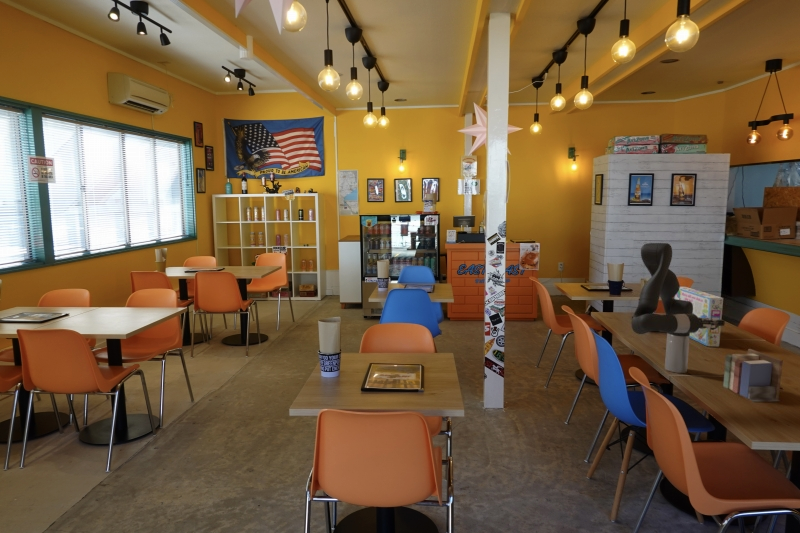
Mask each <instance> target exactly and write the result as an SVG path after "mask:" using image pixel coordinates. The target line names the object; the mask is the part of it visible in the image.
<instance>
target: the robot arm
mask: <svg viewBox="0 0 800 533" xmlns="http://www.w3.org/2000/svg"><path fill="white" fill-rule="evenodd" d="M640 257H641V260H642V263H643V264H644V267H645V268H646V269H647V271H648V273H649V275H650V276H651V277H650V278H649V279H648V280H647V281H646V282H645V284H644V285H643V286H642V288H641V289H640V294H639V298H638V304H637V306H636V308H635V311H634V312H633V316H632V318H631V323H630V326H631V329H632V331H633V332H634V334H635V333H636V334H638V335H645V334H647V333H650V332H660V333H666V344H665V345H666V346H665V360H664V369H665V370H666V371H667V372H672V373H677V374H684V373H687V372H688V362H689V349H690V348H689V347H690V338H689V337H690V333H695V332H697V331H698V329H699V328H700V329H705V328H710V329H711V330H714V329H716V328H718V326H721V327H723V326H725V324H726V321H725V320H723V319H721V320H713V319H709V318H700V317H697V316H696V315H695V314H692V313H693V305H692V303H691V302H690V301H685V300H677V299H674V297H675V295H676V294H677V293H678V291H679V288H680V287H681V285H680V282H679V279H678V277H677V275H676V273H675V272H673V271H672V270H671V269H670V265H671V263H672V259H673V247H672V246H671V244H670V243H668V242H649V243H644V244H643V245H642V247H641V249H640ZM660 299H661V302H662V306H663V311H664V314H657V313H655V312H656V311H657V309H658V306H659V301H660Z"/></svg>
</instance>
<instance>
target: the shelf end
mask: <svg viewBox="0 0 800 533" xmlns="http://www.w3.org/2000/svg"><path fill="white" fill-rule="evenodd" d="M758 360H765V361H768V362H771V363H772V373H771V383H770V386H755V387H749V390H748V398H747V400H749V401H751V402H753V403H761V402H762V403H763V402H780V401H781V400H780V391H781V389H780V387H781V381H782V370H783V363H784V362H783V360H782V359H780V358H777V357H774V356H771V355H768V354H766V353H763V352H760V351H758V350H756V349H752V348H748V349H747V353H733V354H726V355H725V361H724V375H723V386H722V387H724V388H725V389H728V390H731V391H732V392H733V393H735V394H740V384H741V373H742V362H743V361H758Z"/></svg>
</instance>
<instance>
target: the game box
mask: <svg viewBox="0 0 800 533" xmlns="http://www.w3.org/2000/svg"><path fill="white" fill-rule="evenodd" d="M673 298H674V299H677V300H685V301H690V302H691V303H692V305H693V313H692V314H695V315H696V316H697V317H700V318H709V319H713V320H723V318H722V316H723V306H724V304H723V303H724V297H721V296H717V295H714V294H710V293H707V292H704V291H701V290H698V289H694V288H690V287H687V286H680V288H679V291H678V293H677V294H676V295H675V296H674V297H673ZM721 328H722V326H718V328H716V329H714V330H711V329H710V328H705V329H700V328H699V329H698V331H697V332H695V333H690V337H689V339H691V340H694V341H696V342H697V343H700V344H702V345H704V346H706V347H720V339H721V330H722V329H721Z"/></svg>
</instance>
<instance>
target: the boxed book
mask: <svg viewBox="0 0 800 533" xmlns="http://www.w3.org/2000/svg"><path fill="white" fill-rule="evenodd" d="M771 373H772V363H771V362H768V361H765V360H758V361H743V362H742V373H741V384H740V393H739V395H740V396H741V397H744V398H747V399H748V390H749V387H755V386H770V383H771Z"/></svg>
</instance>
